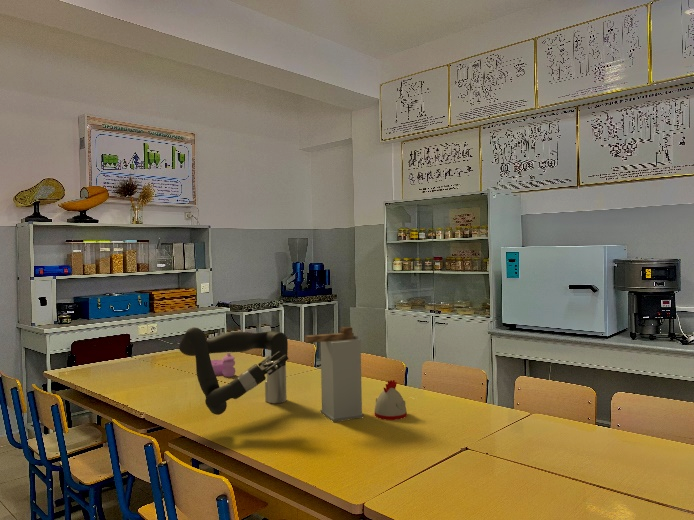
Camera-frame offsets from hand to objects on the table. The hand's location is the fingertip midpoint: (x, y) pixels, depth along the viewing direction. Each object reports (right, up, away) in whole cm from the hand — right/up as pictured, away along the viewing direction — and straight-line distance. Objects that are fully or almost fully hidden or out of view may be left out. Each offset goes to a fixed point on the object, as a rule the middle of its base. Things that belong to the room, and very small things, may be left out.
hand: (284, 354), depth 224 cm
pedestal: (+24, -28, +10) cm, 38 cm away
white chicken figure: (+45, -28, +10) cm, 54 cm away
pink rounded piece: (-49, -28, +96) cm, 112 cm away
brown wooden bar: (+19, +5, +8) cm, 21 cm away
